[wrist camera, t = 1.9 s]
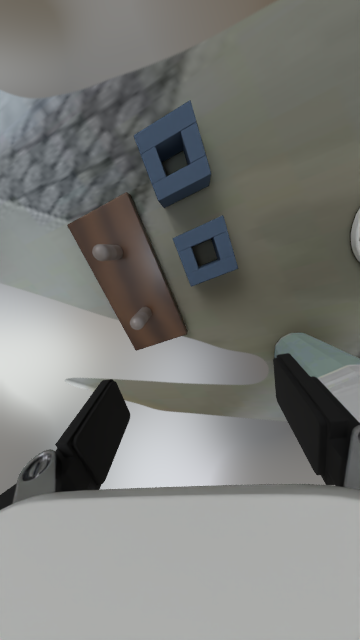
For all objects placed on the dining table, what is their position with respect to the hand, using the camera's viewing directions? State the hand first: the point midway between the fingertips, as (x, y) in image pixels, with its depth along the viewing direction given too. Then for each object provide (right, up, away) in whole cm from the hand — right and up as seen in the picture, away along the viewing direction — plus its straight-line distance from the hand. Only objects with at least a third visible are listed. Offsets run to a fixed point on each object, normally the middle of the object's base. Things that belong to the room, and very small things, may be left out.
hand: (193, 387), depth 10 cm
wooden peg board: (-8, +10, +19) cm, 23 cm away
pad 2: (+3, +14, +16) cm, 22 cm away
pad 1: (-1, +24, +13) cm, 27 cm away
